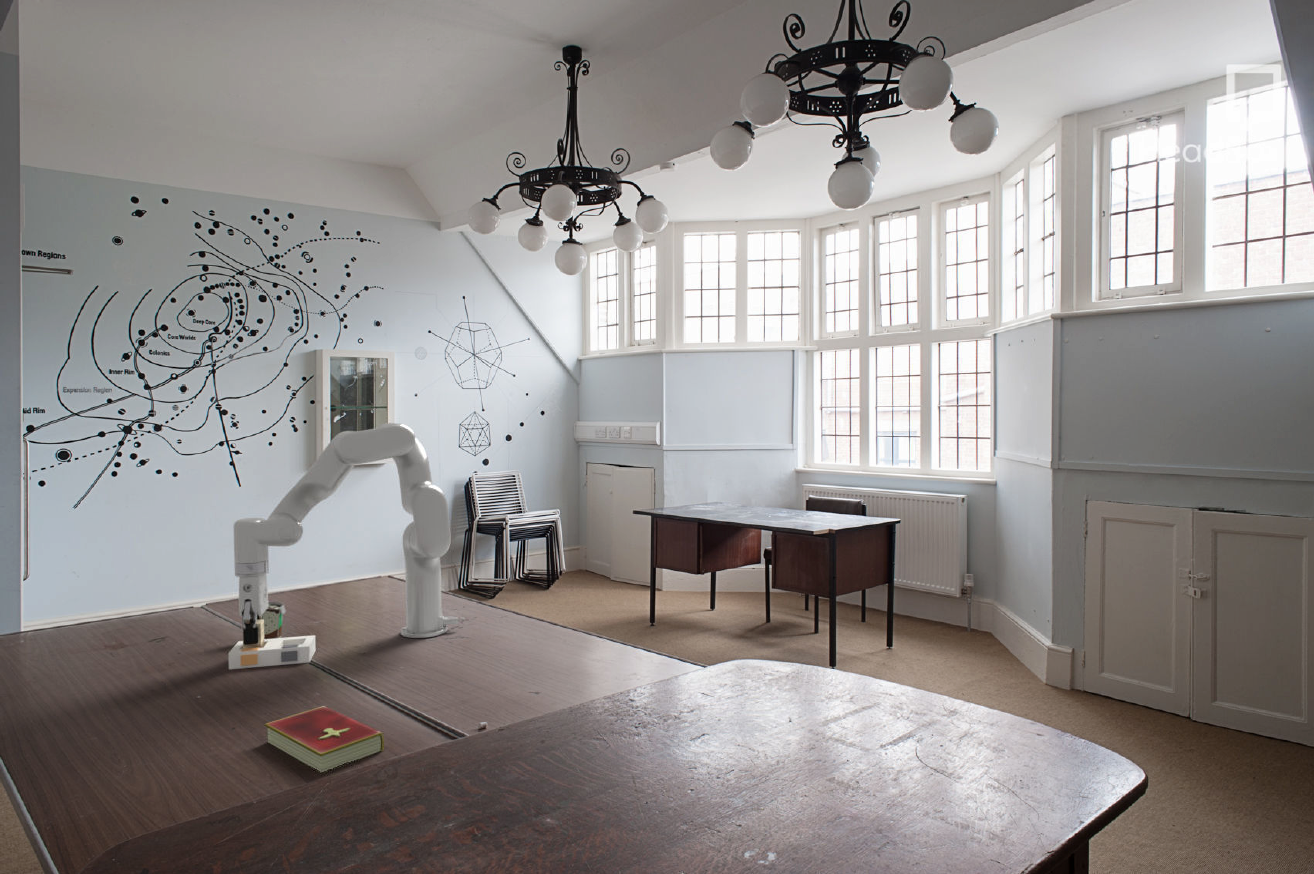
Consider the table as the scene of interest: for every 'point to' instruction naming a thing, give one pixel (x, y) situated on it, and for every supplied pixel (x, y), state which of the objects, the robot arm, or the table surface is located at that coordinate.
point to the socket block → (273, 652)
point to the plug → (260, 636)
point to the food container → (273, 620)
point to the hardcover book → (324, 738)
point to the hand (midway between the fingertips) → (253, 639)
